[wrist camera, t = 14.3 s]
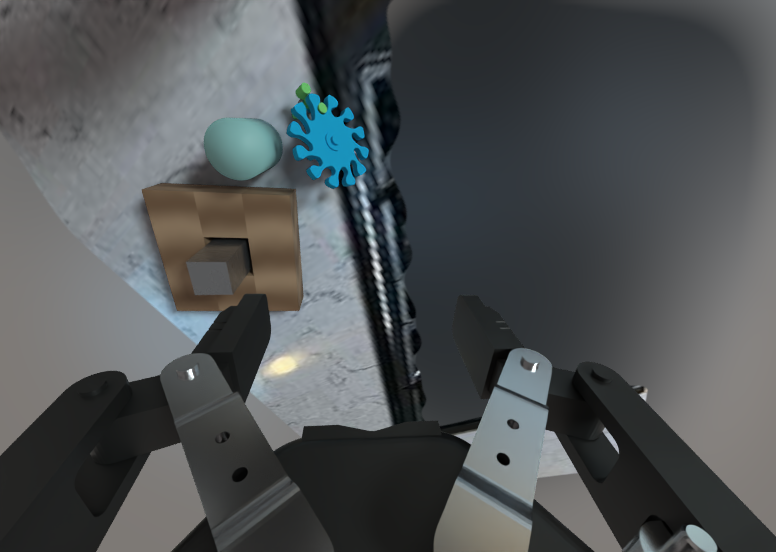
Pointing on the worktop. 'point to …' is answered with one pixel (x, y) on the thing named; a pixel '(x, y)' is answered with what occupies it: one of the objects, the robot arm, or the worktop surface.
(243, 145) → the round peg
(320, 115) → the gear
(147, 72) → the worktop surface
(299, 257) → the socket block
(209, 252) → the square peg
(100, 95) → the worktop surface
